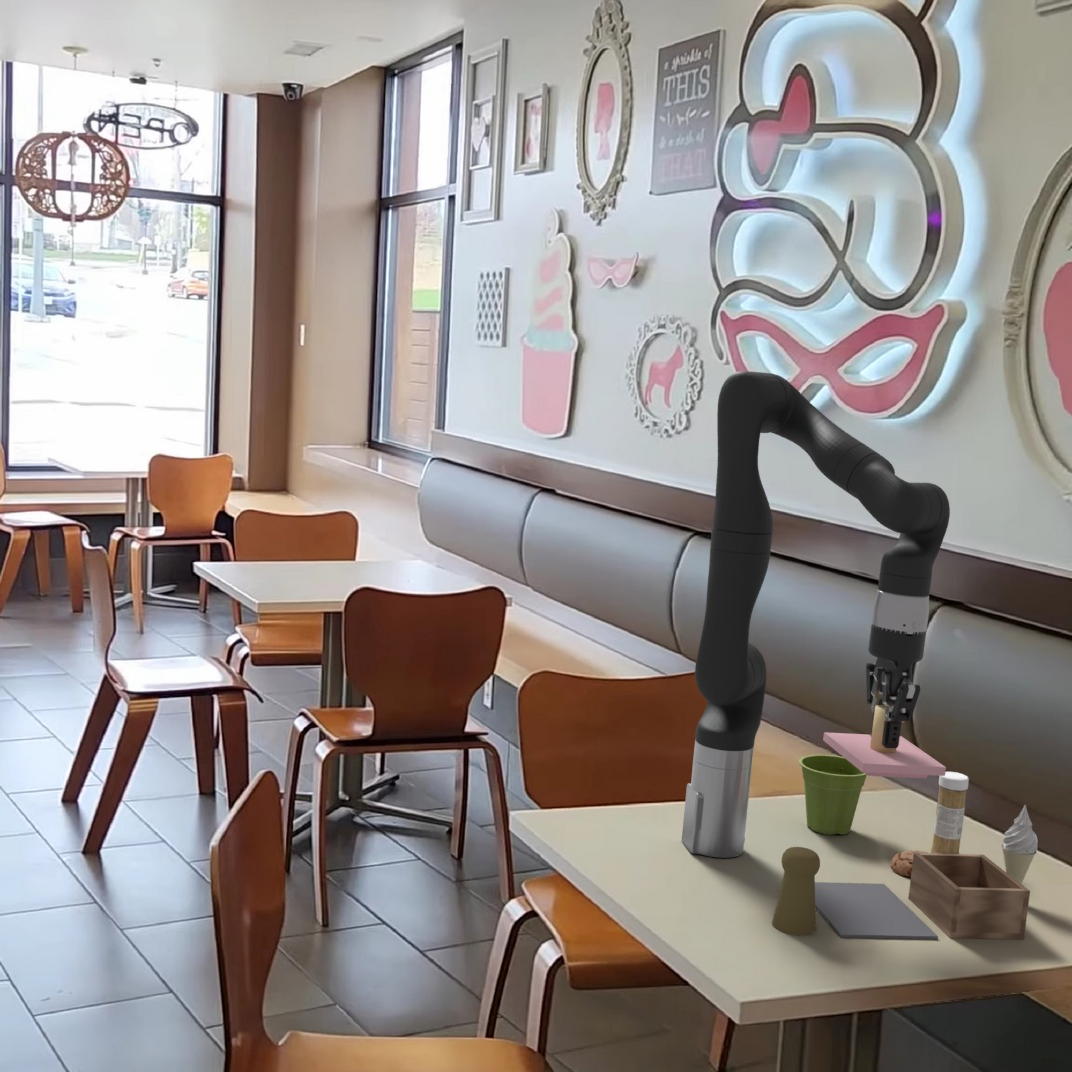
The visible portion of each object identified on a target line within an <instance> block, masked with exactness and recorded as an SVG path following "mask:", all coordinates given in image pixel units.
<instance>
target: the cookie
mask: <svg viewBox="0 0 1072 1072" xmlns="http://www.w3.org/2000/svg"><path fill="white" fill-rule="evenodd" d="M914 853H929V852H928V851H925V850H924V851H923V850H906V851H903V852H898V853H896V854H895V855H893V858H892V859H891V860H890V861H891V865H890V868H891V871H892V872H893V873H896V874H898V875H899V876H903V877H908V878H909V877H910V878H911V872H912V864H913V856H914Z"/></svg>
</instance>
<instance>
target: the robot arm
mask: <svg viewBox="0 0 1072 1072" xmlns="http://www.w3.org/2000/svg"><path fill="white" fill-rule="evenodd" d="M716 417H717V421H716V422H717V423H716V424H717V425H716V426H717V427H716V428H717V431H716V432H717V434H716V435H717V469H716V483H715V496H714V497H715V499H714V511H713V518H712V527H711V537H710V547H709V564H708V576H707V586H706V589H707V590H706V603H705V613H704V620H703V626H702V632H701V635H700V642H699V645H698V651H697V655H696V660H695V661H696V662H695V669H694V677H695V683H696V687H697V689H698V691H699V693H700V695H701V696H702V697H703V698H704V699H705V700H706V701H707V703H706V706H705V708H704V711H703V714H702V715H701V717H700V718H699V720H698V723H696V724H697V725H696V728H695V740H694V749H693V758H692V759H693V760H692V770H691V771H692V772H691V781H690V783H689V782H688V783H687V784H686V791H685V792H686V793H685V801H684V811H683V821H682V822H683V823H682V830H681V831H682V833H681V842H682V843H683V845H684V846H685V847H686V848H687V850H688V851H689V852H690V854H697V855H703V856H706V857H712V858H734V857H738V856H741V855H742V854H743V853H744V846H745V845H744V844H745V840H746V838H745V837H746V835H745V834H746V826H747V819H748V809H749V808H748V807H749V798H750V788H751V780H752V779H751V777H752V770H753V769H752V767H753V760H754V759H753V758H754V749H755V740H756V735H757V733H758V731H759V728H760V726H761V721H762V716H763V708H764V703H765V693H766V687H767V666H766V661H765V658H764V656H763V654H762V653H761V651H760V650H759V649H758V648H757V646H756V645H753V643H750V642H749V637H750V636H749V635H750V625H751V620H752V614H753V611H754V607H755V605H756V602H757V599H758V597H759V594H760V592H761V589H762V587H763V585H764V581H765V578H766V575H767V572H768V569H769V563H770V559H771V550H772V543H773V542H772V539H773V530H774V528H773V526H774V521H773V514H772V510H771V506H770V503H769V500H768V497H767V494H766V490H765V489H764V485H763V484H762V483H763V482H762V480H761V476H760V471H759V451H760V450H759V447H760V439H761V438H760V437H761V434H768V433H771V434H774V435H775V436H776V435H777V436H779V437H781V438H784V439H786V440H788V441H790V442H792V443H794V444H795V445H797V446H798V447H799V448H801V449H802V450H803V451H804V452H805V453H806V454H807V455H808V456H809V458H810V460H811V461H812V462H813V464H814V465H815V467H816V468H817V469H818V470H819V471H820V473H821V474H822V475H824V476H825V477H826V478H827V479H828V480H829V481H831V482H832V483H833V484H835V485H836V486H837V487H839V488H840V489H842V490H843V491H845V492H846V493H848V494H849V495H851V496H852V497H853V498H855V499H857V500H858V501H859V502H860V504H861V505H862V507H863V508H864V509H865V510H866V511H867V512H868V513H869V514H870V515H871V516H872V517H873V518H874V519H875V521H877V522H878V523H879V524H880V525H881V526H883V527H884V528H887V529H888V530H891V531H892V532H894V533H898V534H899V537H898V540H897V543H896V544H895V546H894V547H892V548H890V549H888V550H887V551H885V552H884V554H883V556H882V558H881V562H880V569H879V578H878V585H877V586H878V587H877V593H876V596H875V598H874V604H873V609H872V610H873V611H872V617H871V625H870V634H869V641H868V648H867V649H868V653H869V654H870V655H871V656H872V657H875V658H877V659H876V660H875V663H873V662H872V663H871V662H870V663H869V662H867V663H866V664H865V665H866V666H865V671H866V672H865V677H866V679H865V680H866V703H867V705H871V706H870V709H871V712H872V718H871V727H870V734H869V735H870V736H871V737H872V729H873V721H874V713H875V706H876V705H885V706H886V709H885V720H886V721H885V722H884V730H883V738H882V745H883V746H884V747H885V748H897V747H898V746H899V738H900V736H901V730H902V723H910V721H912V716H913V714H914V710H915V708H916V705H917V702H918V699H919V696H920V693H921V687H920V684H913V681H912V678H913V672H912V670H913V669H912V668H913V667H912V665H913V664H914V663H918V662H920V661H922V660H923V659H924V655H925V654H924V653H925V645H926V639H927V638H926V637H927V629H928V622H929V616H930V592H931V583H932V577H933V567H934V564H935V561H936V559H937V557H938V554H939V552H940V549H941V546H942V544H943V542H944V538H945V536H946V532H947V529H948V527H949V526H948V525H949V524H950V523H949V521H950V514H951V511H950V510H951V508H950V500H949V498H948V496H947V494H946V492H945V491H944V490H943V489H942V488H941V487H940V486H939V485H937V484H935V483H931V482H909V481H906V480H904V479H902V478H901V477H899V476H898V475H896V472H895V467H894V466H893V464H892V463H891V462H890V461H889V459H886V458H885V457H884V456H883V455H882V454H880V453H878V452H877V451H876V450H874V449H872V448H871V447H869V446H868V445H866V444H865V443H863V442H861V441H860V440H858V439H857V438H856V437H854V436H853V435H851V434H849V433H848V432H846V431H845V430H843V429H842V428H841V427H840V426H839V425H837V424H835V422H833V421H832V420H831V419H829V418H828V417H827V416H826V415H825V414H823V412H821V411H820V410H819V409H818V408H817V407H816V406H814V405H813V404H812V403H811V402H810V401H809V400H808V399H807V398H806V397H805V396H804V395H803V394H802V393H801V392H800V391H799V390H798V389H797V388H796V387H795V386H794V385H793V384H792V383H791V382H790V381H788V380H787V379H785V378H784V377H783V376H781V375H779V374H775V373H770V372H763V371H761V372H760V371H751V370H750V371H749V370H747V371H746V370H741V371H736V372H733V373H731V374H730V375H729V376H728V377H727V378H726V380H724V382H723V384H722V386H721V388H720V390H719V395H718V399H717V415H716ZM892 706H894V707H893V710H892Z"/></svg>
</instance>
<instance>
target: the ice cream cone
mask: <svg viewBox="0 0 1072 1072" xmlns="http://www.w3.org/2000/svg"><path fill="white" fill-rule="evenodd" d="M1032 826H1033V823H1032V821H1031V819H1030V816H1029V813H1028V810H1027V804H1024V805H1023V808H1022V809H1021V811H1020V813H1018V816H1017V817H1016V818H1015V819H1014V820H1013V824H1012V825H1011V826H1010V827H1009V828H1008V830H1006V831H1005V832H1004V836H1005V837H1004V838H1003V840H1002V842H1003V843H1002V844H1001V845H1000V847H1001V849H1002V855H1003V861H1004V867H1005V872H1006V873H1008V874H1009V875H1010V876H1012V877H1013V878H1014V879H1015V880H1017V881H1018V882H1019V883H1020V884H1022V885H1023V881H1024V880H1025V877H1026V875H1027V873H1028V870H1029V868H1030V866H1031V864H1032V862H1033V859H1034V857H1035V855H1036V854H1037V851H1038V843H1039V841H1038V837H1037V834H1036V833H1035V831H1033V828H1032Z"/></svg>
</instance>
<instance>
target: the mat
mask: <svg viewBox="0 0 1072 1072" xmlns="http://www.w3.org/2000/svg"><path fill="white" fill-rule="evenodd" d="M815 910H817V912H818V913H819V914H820V915H821V916H822V917H823V919H824V920H825V921H826V922H827V923H828V924H829V925H830V926H831V928H832V929H833V930H834V932H835V933H836V934H837V935H838V936H839V937H840V938H844V939H845V938H848V939H849V938H852V939H853V938H855V939H857V938H859V939H908V940H911V939H913V940H914V939H915V940H919V939H920V940H922V939H923V940H938V938H939V936H938V935H937V933H935V931H933V930H932V928H930V927H929V926H928V925H927V924H926V923H925V922H924V921H923V920H922V919H921V918H920V917H919V916H918V915H917V914H916V913H915V912H914V911H913V910H912V909H910V908H909V906H908V905H907V904H906V903H905V902H904V901H903V900H901V899H900V897H898V896H897V895H896V893H894V892H893V891H892V890H891V889H890V888H889V887H888V886H887V885H886V884H885V883H872V882H870V883H869V882H867V883H864V882H863V883H861V882H859V883H858V882H824V881H823V882H822V881H821V882H819V881H815Z"/></svg>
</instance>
